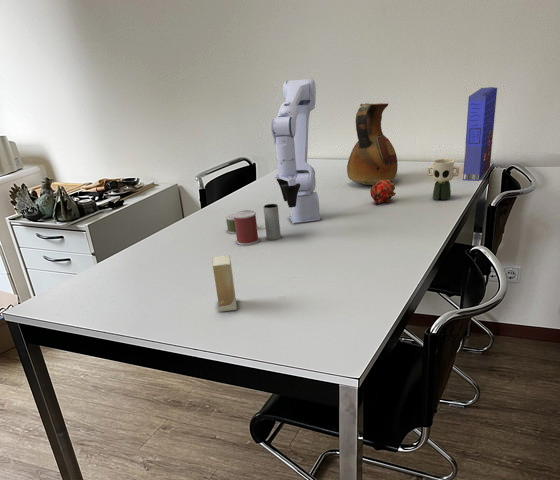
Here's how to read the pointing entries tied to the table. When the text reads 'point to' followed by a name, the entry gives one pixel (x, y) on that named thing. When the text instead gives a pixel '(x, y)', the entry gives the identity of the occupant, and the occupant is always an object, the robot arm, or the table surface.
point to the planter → (272, 221)
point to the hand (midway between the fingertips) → (289, 203)
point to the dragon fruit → (382, 191)
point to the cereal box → (479, 133)
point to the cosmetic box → (224, 283)
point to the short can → (231, 223)
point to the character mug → (442, 177)
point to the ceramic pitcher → (371, 148)
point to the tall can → (246, 227)
